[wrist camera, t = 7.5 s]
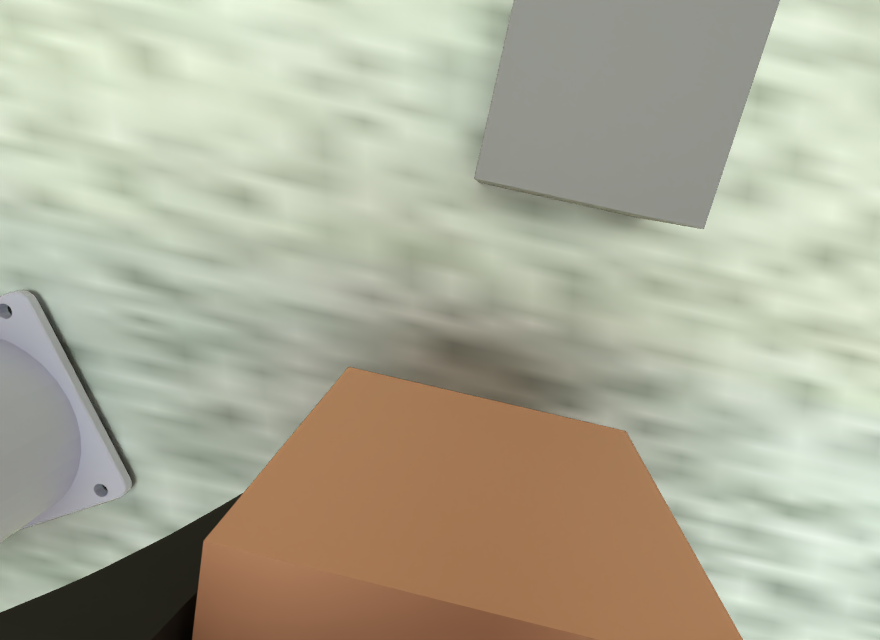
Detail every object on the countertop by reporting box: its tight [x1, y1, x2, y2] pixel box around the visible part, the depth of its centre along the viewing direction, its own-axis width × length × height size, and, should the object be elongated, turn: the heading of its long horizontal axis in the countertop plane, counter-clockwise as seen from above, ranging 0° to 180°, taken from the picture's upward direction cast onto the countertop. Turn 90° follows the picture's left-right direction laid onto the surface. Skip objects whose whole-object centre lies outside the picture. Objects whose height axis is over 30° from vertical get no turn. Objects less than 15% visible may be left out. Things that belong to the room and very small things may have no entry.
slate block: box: [474, 0, 780, 229], centre depth 13 cm, size 5×5×5 cm
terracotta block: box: [192, 367, 743, 640], centre depth 8 cm, size 5×5×5 cm
